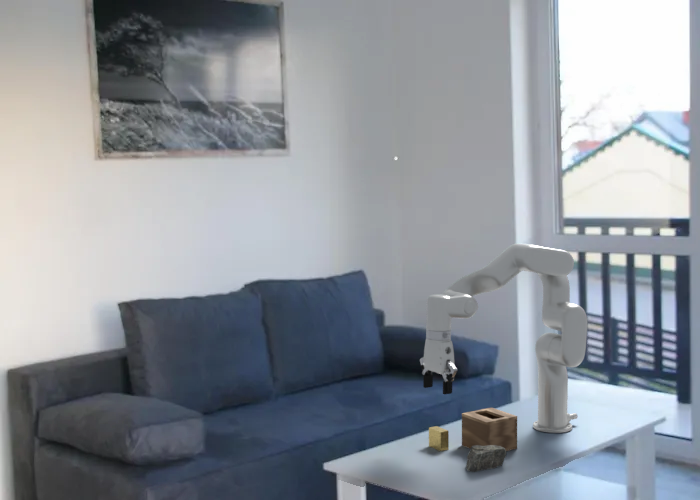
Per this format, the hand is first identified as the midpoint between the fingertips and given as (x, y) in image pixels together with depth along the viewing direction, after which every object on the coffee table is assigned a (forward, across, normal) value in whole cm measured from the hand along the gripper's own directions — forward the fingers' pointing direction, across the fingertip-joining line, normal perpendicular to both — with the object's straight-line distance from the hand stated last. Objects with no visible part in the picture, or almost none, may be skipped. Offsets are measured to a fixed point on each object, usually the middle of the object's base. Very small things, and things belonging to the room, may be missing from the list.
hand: (437, 390), depth 279 cm
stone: (+19, -21, -2) cm, 28 cm away
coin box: (+18, -8, -15) cm, 24 cm away
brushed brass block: (+18, 0, -1) cm, 18 cm away
